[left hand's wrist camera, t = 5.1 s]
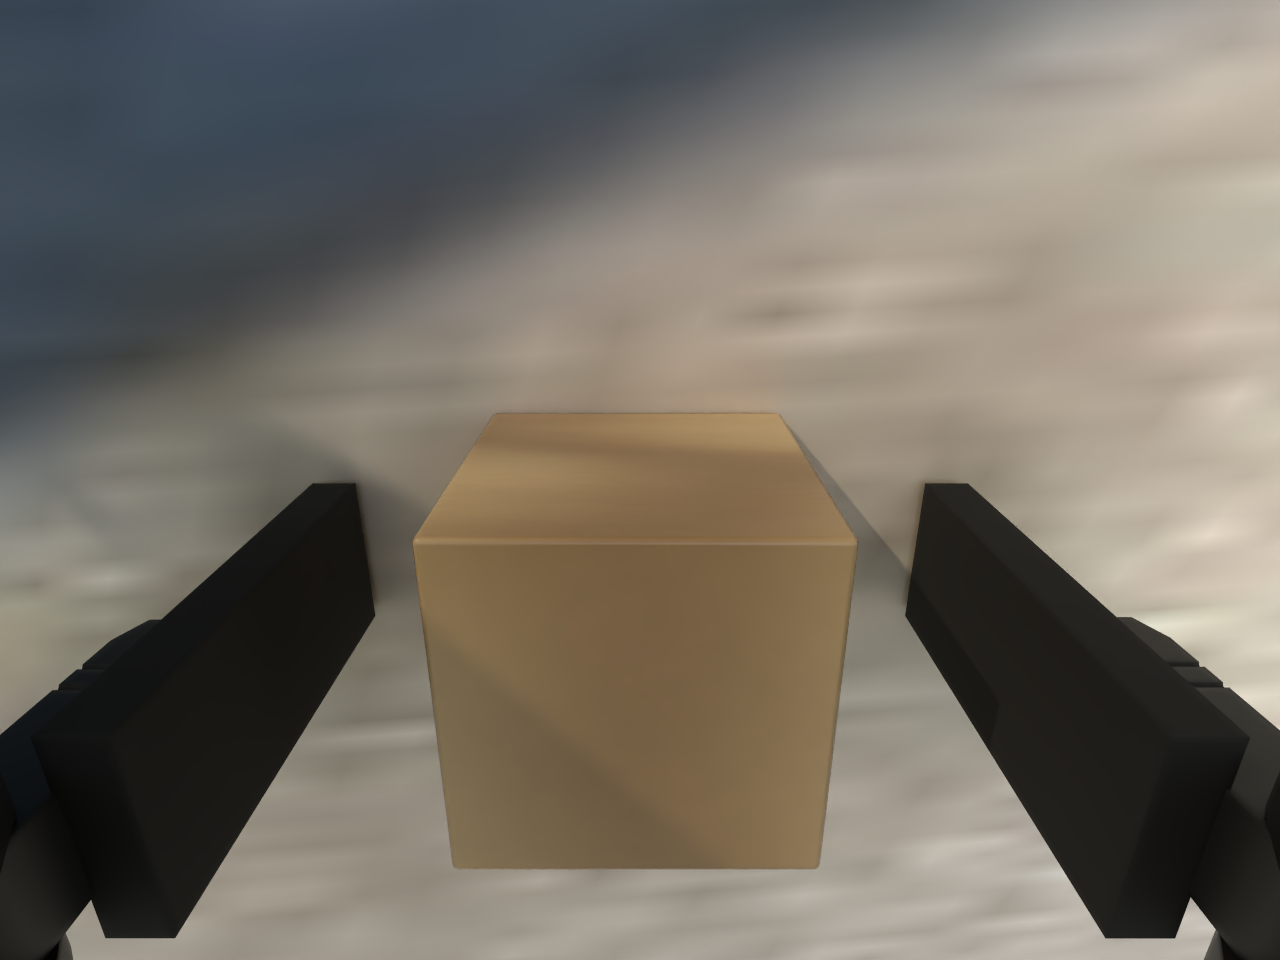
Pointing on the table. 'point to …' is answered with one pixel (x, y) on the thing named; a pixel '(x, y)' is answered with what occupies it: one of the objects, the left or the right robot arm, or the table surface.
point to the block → (635, 643)
